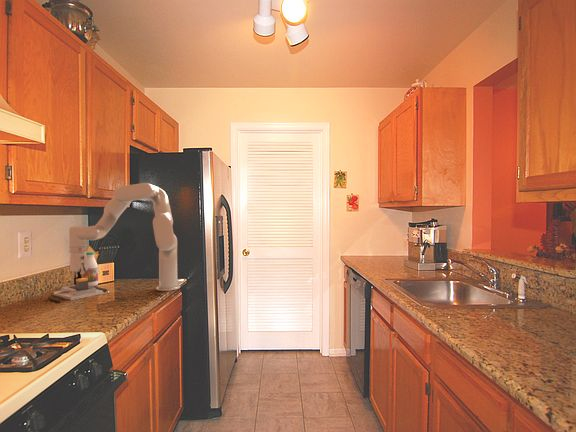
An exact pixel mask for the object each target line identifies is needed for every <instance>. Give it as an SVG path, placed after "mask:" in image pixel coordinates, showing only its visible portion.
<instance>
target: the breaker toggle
mask: <svg viewBox="0 0 576 432" xmlns="http://www.w3.org/2000/svg"><path fill="white" fill-rule="evenodd" d="M84 289H88V278H79V279H76V290H84Z"/></svg>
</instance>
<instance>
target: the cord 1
mask: <svg viewBox="0 0 576 432" xmlns="http://www.w3.org/2000/svg"><path fill="white" fill-rule="evenodd" d="M48 300H51V301H54V302H56V303H59V304H61V303H62V302H63V301H62V299H58V298H56V297H52V296H49V297H48Z"/></svg>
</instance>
